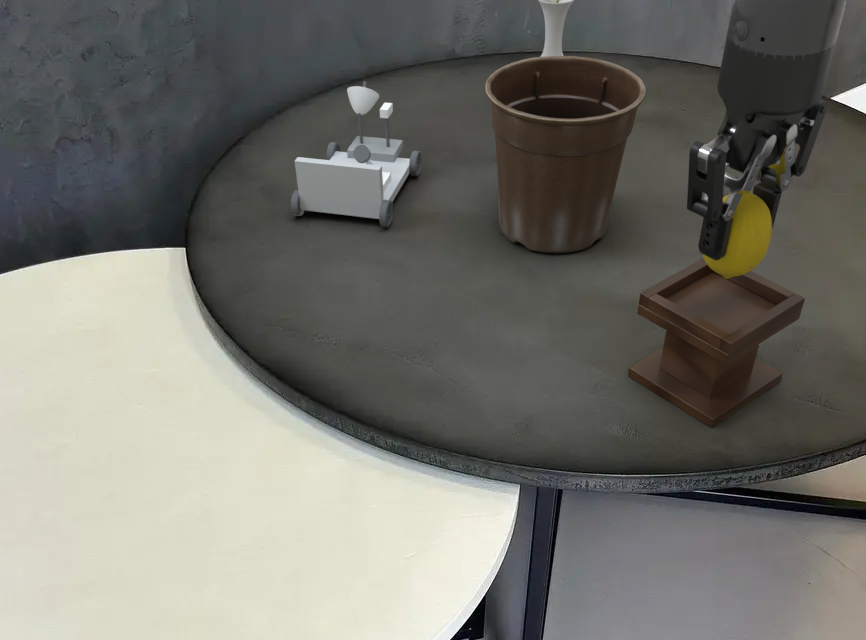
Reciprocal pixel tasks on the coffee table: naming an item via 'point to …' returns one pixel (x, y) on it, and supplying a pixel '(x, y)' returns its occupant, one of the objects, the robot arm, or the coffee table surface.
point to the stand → (713, 339)
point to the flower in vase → (554, 25)
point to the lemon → (745, 238)
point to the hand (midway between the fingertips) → (735, 241)
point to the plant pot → (560, 147)
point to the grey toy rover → (356, 170)
